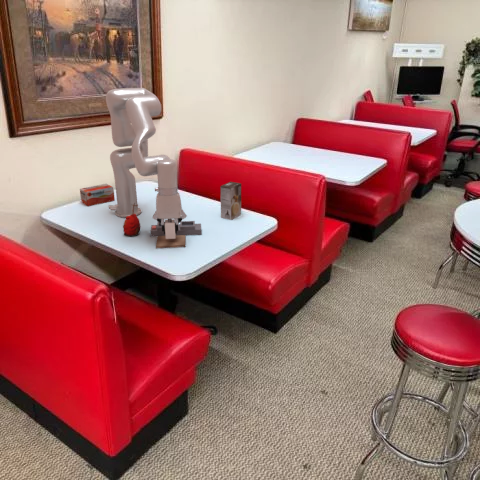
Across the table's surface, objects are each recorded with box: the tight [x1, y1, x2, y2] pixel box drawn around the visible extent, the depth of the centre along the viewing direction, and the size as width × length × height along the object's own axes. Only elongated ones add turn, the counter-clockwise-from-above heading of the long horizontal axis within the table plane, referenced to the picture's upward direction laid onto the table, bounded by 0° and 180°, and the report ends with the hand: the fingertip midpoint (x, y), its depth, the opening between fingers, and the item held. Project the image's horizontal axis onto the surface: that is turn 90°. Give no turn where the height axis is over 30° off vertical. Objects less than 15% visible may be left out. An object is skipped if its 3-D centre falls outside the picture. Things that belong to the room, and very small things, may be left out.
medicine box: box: [79, 183, 115, 207], centre depth 226 cm, size 15×8×8 cm, turn 131°
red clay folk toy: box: [122, 203, 141, 237], centre depth 186 cm, size 8×7×15 cm
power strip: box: [149, 220, 202, 238], centre depth 191 cm, size 22×7×4 cm, turn 96°
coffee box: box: [219, 181, 242, 221], centre depth 207 cm, size 9×6×16 cm
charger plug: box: [164, 219, 176, 239], centre depth 179 cm, size 4×4×8 cm
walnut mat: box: [155, 235, 187, 249], centre depth 182 cm, size 12×10×1 cm
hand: (170, 232), depth 180 cm, fingers closed on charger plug, 4 cm apart
